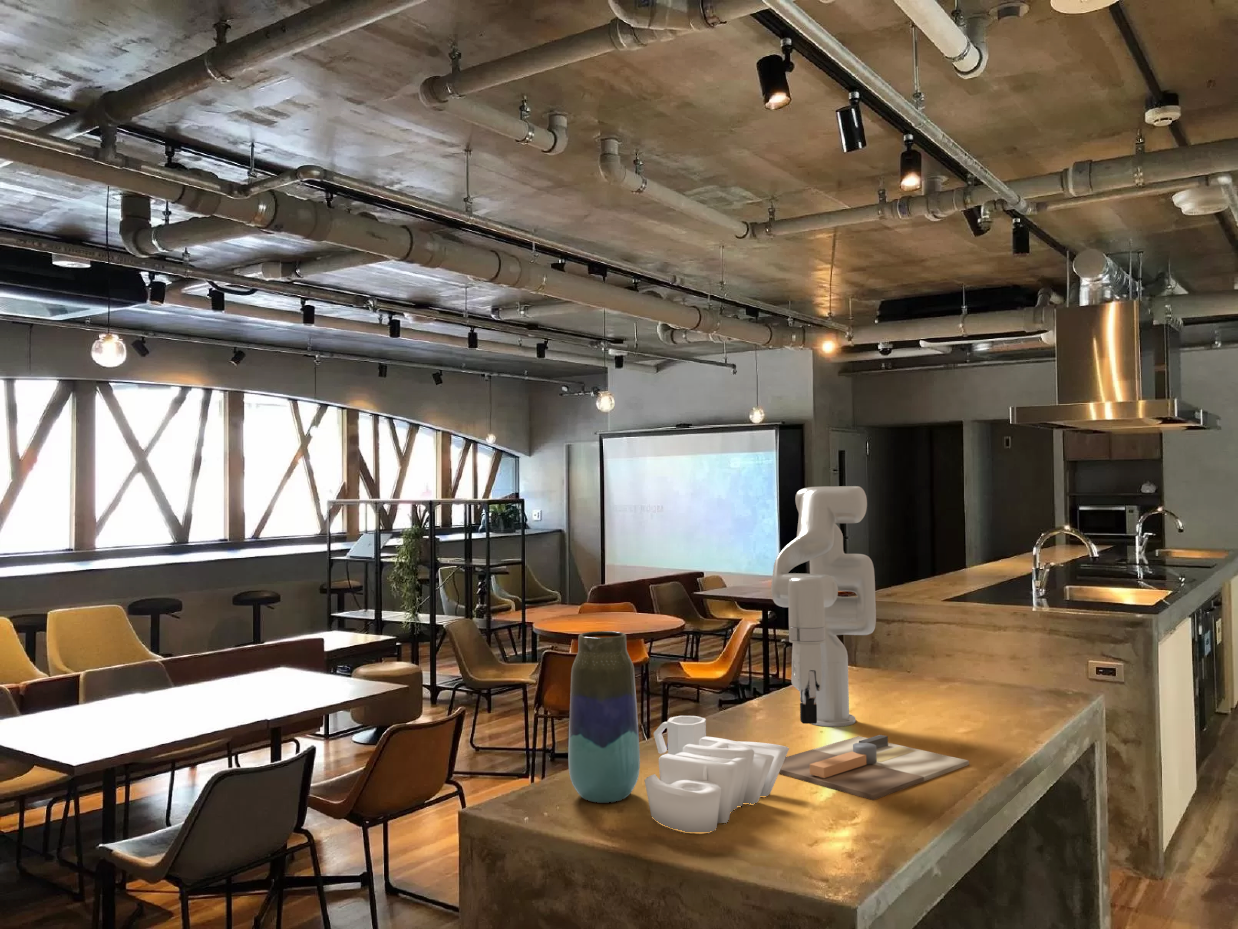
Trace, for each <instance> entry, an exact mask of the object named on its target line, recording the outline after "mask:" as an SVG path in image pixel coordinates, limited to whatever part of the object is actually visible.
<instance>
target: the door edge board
mask: <svg viewBox="0 0 1238 929" xmlns="http://www.w3.org/2000/svg"><path fill="white" fill-rule="evenodd" d="M855 743H871V744H874V745H876V752H877V762H876V763H874V764H866V765H863V766H860V767H857V768H854V769H851V770H848V771H845V772H842V773H838V774H835V775H832V776H829V777H826V778H822V777H818V776H815V775H811V774H810V764H812V763H815V762H819V761H822V760H825V759H829V758H832V757H835V756H838V755H842V754H845V753H848V752H853V744H855ZM969 765H970V760H968V759H964V758H960V757H959V758H958V757H954V756H950V755H946V754H942V753H937V752H933V751H928V750H924V749H919V748H913V747H909V746H905V745H899V744H895V743H891V742H889V738H888V736H887V735H885V734H884V735H882V734H878V735H874V736H872V737H863V736H860V735H858V736H854V737H851V738H847V739H844V740H840V741H836V742H833V743H830V744H829V743H828V744H826V745H823V746H819V747H816V748H813V749H808V750H805V751H801V752H798V753H795V754H792V755H791V754H790V755H788V756H786V757H785V760H784V762H783V764H782V767H781V769H780V772H779V773H781V774H780V775H782V774H783V775H782V776H785V775H786V777H789V776H791V777H790V778H792V777H794V778H793V779H797V780H800V781H803V780H804V781H803V782H805V783H807V782H808V783H811V784H814V785H817V786H821V787H824V788H825V787H826V788H827V789H831V790H835V791H838V792H842V793H846V794H849V795H854V796H856V797H861V798H863V799H868V800H872V801H875V800H878V799H880V798H882V797H886V796H888V795H891V794H893V793H897V792H900V791H902V790H905V789H908V788H910V787H913V786H916V785H917V784H921V783H924V782H926V781H929V780H931V779H934V778H937V777H940V776H943V775H945V774H947V773H950V772H953V771H956V770H959V769H962V768H963V767H967V766H969ZM909 786H910V787H909Z"/></svg>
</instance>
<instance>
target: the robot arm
mask: <svg viewBox="0 0 1238 929" xmlns="http://www.w3.org/2000/svg"><path fill="white" fill-rule="evenodd" d="M794 501H795V505H796V509H797V512H798V521H797V522H798V523H797V531H796V537H795V538H794V539H793V540H791V541H790V542H789V543H787V544H786V545H785V546H784V547H783V548H782V550H781V551H780V552H779V554H778V555H777V556H776V557H775V558H776V559H775V560H774V564H773V568H772V577H771V585H770V587H771V588H770V593H771V598H772V601H773V602H774V604H775V605H776V606H778V607H782V608H788V641H789V643H792V650H791V676H790V680H791V682H790V683H791V685H792V686H793V687H794V688H795V689H797V691H798V692H799V698H800V699H799V700H800V701H799V714H800V715H799V716H800V718H799V720H800V722H801V723H802V724H805V725H807V724H810V725H814V726H820V727H828V728H829V727H830V728H831V727H832V728H835V727H836V728H838V727H849V726H852V725H854V724H855V723H856V716H854V715H853V714H851V713H850V706H849V705H850V702H849V701H850V698H849V697H850V696H849V693H850V692H849V690H850V689H849V656H848V650H847V648H846V646H845V645H844V644H843V642H842V641H841V640H840V639H839V637H838V636H842V635H849V636H868V635H871V634H873V632H874V631H875V629H876V622H877V608H876V606H877V605H876V581H875V580H876V578H875V577H876V576H875V568H874V563H873V561H872V559H871V558H870V556H868V555H866V554H863V553H845V551H844V536H843V533H842V530H841V528H840V527H839V526H838V525H837V524H857V523H860V522H861V521H862V520H863V519H864V517H865V515H866V513H867V510H868V508H867V507H868V500H867V495H866V492H865V490H864V488H862V487H861V486H858V485H857V486H856V485H853V486H852V485H851V486H850V485H848V486H847V485H846V486H845V485H842V486H829V485H828V486H808V487H804V488H801V489H799V490H798V491H797V492H796V494H795V500H794ZM806 562H807V563H808V562H809V573H806V572H805V573H802V572H801V573H799V572H798V573H796V572H793V573H792V572H790V571H791V570H793V569H794V568H795V567H797V566H799V565H801V564H804V563H806ZM789 572H790V573H789ZM839 592H852V593H855V595H856V596H841V595H840V596H839Z"/></svg>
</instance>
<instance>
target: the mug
mask: <svg viewBox="0 0 1238 929" xmlns="http://www.w3.org/2000/svg"><path fill="white" fill-rule="evenodd" d="M706 725H707V719H706V718H705V717H701V716H696V715H678V716H677V715H676V716H673V717H672V716H671V717H669V718H668V720H667V721H664V722H661V724H660V725H659V726H658V727H657V728H656V730H654V732H653V736H654V737H653V738H654V741H655V744H656V750H657V752H658V754H660V755H661V754H662V755H663V754H666V752H667V754H671V755H676V754H678V753H680V752H683V747H684V746H685V745H687V744H693V745H699V740H700V739H701V738H703V737H707V731H706V730H707V726H706ZM665 729H667V743H668V750H667V745H666V742H665V739H664V737H663V732H664V731H665Z"/></svg>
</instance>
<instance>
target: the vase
mask: <svg viewBox="0 0 1238 929" xmlns="http://www.w3.org/2000/svg"><path fill="white" fill-rule="evenodd" d="M577 642H578V643H577V644H578V647H577V649H578V650H577V654H576V656H575V658H574V661H573V663H572V666H571V672H570V693H569V695H570V696H569V722H568V724H569V725H568V750H567V751H568V753H567V754H568V757H567V758H568V772H569V773H568V774H569V778H570V782H571V784H572V786H573V788H574V789H575V791H576V792H577V794H578V795H579V796H580V797H581V798H582V799H583V800H585V801H587V800H588V801H589V802H590V803H591V802H592V803H596V802H597V803H598V804H609V802H611V803H616V801H617V802H620V801H622V799H623V800H624V799H626V798H628V797H629V796H630V795H631V793H632V792H633V791H634V789H635V786H636V785H637V782H638V781H639V776H640V768H641V767H640V766H641V765H640V764H641V759H640V758H641V757H640V756H641V752H640V736H639V735H640V734H639V720H638V717H639V716H638V707H637V706H638V705H637V704H638V703H637V692H636V678H635V677H636V676H635V666H634V663H633V661H632V659H631V656H630V655H629V652H628V650H627V647H628V646H627V634H625V633H624V632H621V631H612V630H607V631H606V630H602V631H601V630H599V631H588V632H584V633H580V634H579V635H578V640H577ZM597 803H596V804H597Z"/></svg>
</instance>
